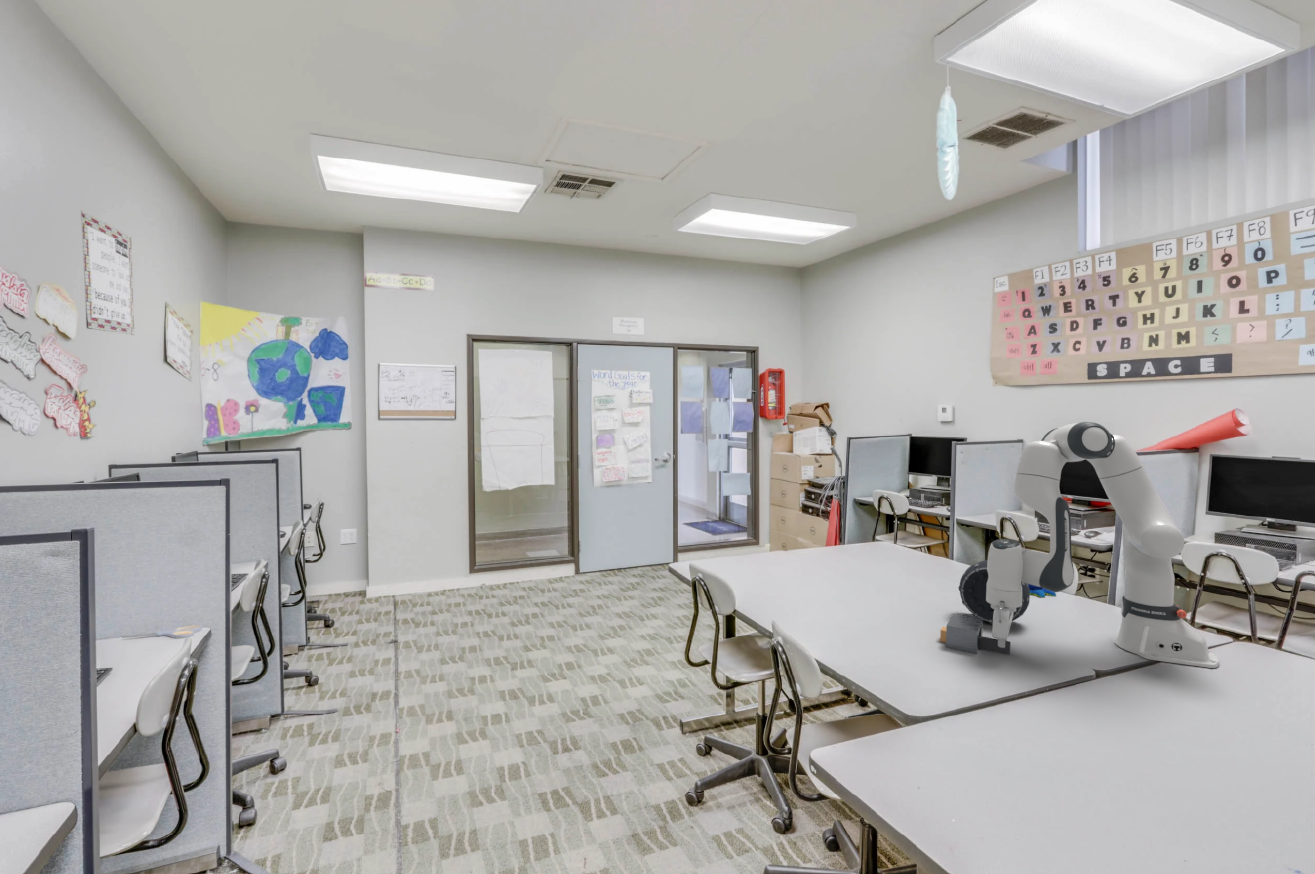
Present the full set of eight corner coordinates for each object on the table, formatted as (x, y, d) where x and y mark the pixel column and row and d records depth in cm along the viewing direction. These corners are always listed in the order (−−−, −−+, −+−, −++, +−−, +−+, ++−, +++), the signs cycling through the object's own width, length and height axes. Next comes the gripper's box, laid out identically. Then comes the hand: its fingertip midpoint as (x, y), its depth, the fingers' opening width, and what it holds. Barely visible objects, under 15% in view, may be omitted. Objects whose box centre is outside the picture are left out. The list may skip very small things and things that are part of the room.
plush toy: (1008, 595, 225) (1009, 573, 225) (998, 582, 241) (999, 562, 241) (1060, 600, 220) (1061, 577, 219) (1046, 586, 236) (1047, 565, 235)
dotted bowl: (1026, 633, 186) (1028, 569, 185) (955, 619, 199) (957, 559, 198) (1030, 623, 195) (1032, 562, 194) (962, 610, 207) (964, 553, 206)
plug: (1010, 651, 173) (1010, 639, 173) (1009, 655, 170) (1009, 643, 170) (942, 637, 183) (942, 626, 183) (940, 641, 180) (940, 630, 180)
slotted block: (982, 640, 181) (982, 619, 181) (976, 653, 171) (977, 631, 171) (952, 634, 185) (953, 613, 185) (946, 647, 176) (946, 625, 175)
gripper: (1014, 609, 161) (1012, 659, 162) (1018, 590, 178) (1017, 636, 179) (987, 604, 165) (985, 654, 166) (994, 586, 182) (993, 631, 183)
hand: (1002, 644), depth 173 cm, fingers closed on plug, 2 cm apart
